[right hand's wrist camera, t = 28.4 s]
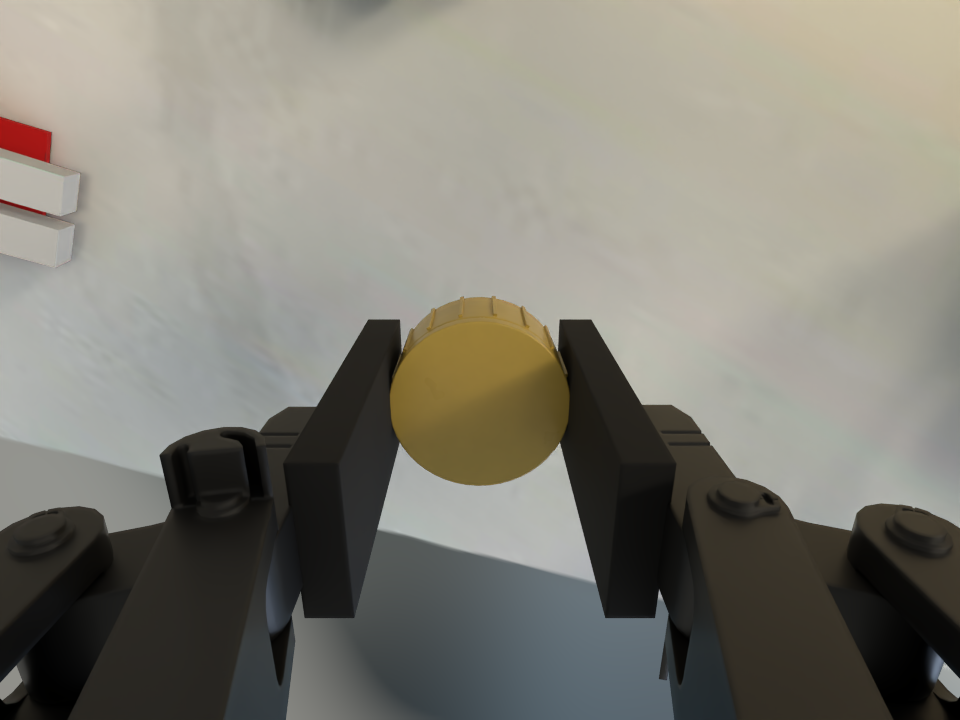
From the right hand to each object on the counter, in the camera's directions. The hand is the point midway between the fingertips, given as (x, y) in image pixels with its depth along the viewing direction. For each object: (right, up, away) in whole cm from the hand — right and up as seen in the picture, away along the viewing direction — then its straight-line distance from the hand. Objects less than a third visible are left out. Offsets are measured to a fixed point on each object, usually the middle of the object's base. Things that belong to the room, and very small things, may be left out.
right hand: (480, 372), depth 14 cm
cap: (0, -1, -2) cm, 2 cm away
